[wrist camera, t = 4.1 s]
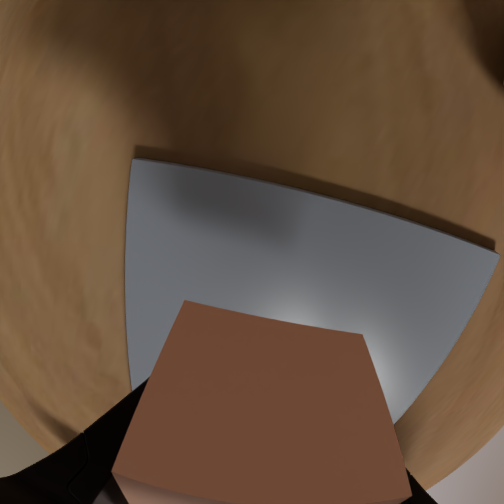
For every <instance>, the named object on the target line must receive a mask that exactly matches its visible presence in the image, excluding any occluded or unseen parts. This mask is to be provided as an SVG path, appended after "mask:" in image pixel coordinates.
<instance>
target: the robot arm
mask: <svg viewBox="0 0 504 504" xmlns="http://www.w3.org/2000/svg"><path fill="white" fill-rule="evenodd" d="M149 378H150V377H149ZM149 378H147V379H146V380H145V381H144V382H143V383H141V384H140V385H139V386H138V387H137V388H135V389H134V390H133V391H132V392H131V393H129V394H128V395H127V396H126V397H125V398H123V399H122V400H121V401H120V402H119V403H117V404H116V405H115V406H114V407H112V408H111V409H110V410H109V411H108V412H106V413H105V414H104V415H103V416H101V417H100V418H99V419H98V420H97V421H95V422H94V423H93V424H92V425H90V426H89V427H88V428H87V429H85V430H84V431H83V433H80V434H79V435H78V436H76V437H75V438H74V439H73V440H71V441H70V442H69V443H67V444H66V445H64V446H63V447H62V448H60V449H59V450H57V451H55V452H54V453H52V454H50V455H49V456H47V457H46V458H44V459H42V460H40V461H39V462H36V463H35V464H33V465H31V466H29V467H27V468H25V469H24V470H22V471H20V472H18V473H16V474H13V475H10V476H7V477H2V478H0V504H129V503H128V501H127V499H126V498H125V496H124V494H123V492H122V491H121V489H120V487H119V485H118V483H117V482H116V480H115V478H114V476H113V474H112V472H111V471H112V468H113V466H114V463H115V461H116V458H117V455H118V453H119V450H120V448H121V445H122V443H123V440H124V438H125V435H126V433H127V430H128V428H129V425H130V423H131V420H132V418H133V415H134V413H135V411H136V408H137V406H138V403H139V401H140V399H141V396H142V394H143V392H144V389H145V387H146V385H147V382H148V380H149ZM405 468H406V467H405ZM406 472H407V476H408V480H409V484H410V488H411V493H412V496H411V497H409V498H408V499H406V500H405V501H403V502H401V503H400V504H438V503H437V502H436V501H435V500H434V499H433V498H431V496H430V495H429V494H428V493H427V492H426V491H425V490H424V489H423V488H422V487H421V485H420V484H419V483H418V482H417V481H416V479H415V478H414V477H413V476H412V475H410V472H409V471H408V470H407V468H406Z"/></svg>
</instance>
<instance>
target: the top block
mask: <svg viewBox="0 0 504 504" xmlns="http://www.w3.org/2000/svg"><path fill="white" fill-rule="evenodd" d="M111 472H112V474H113V476H114V478H115V480H116V482H117V483H118V485H119V487H120V489H121V491H122V492H123V494H124V496H125V498H126V499H127V501H128V503H129V504H400V503H401V502H403V501H405V500H406V499H408V498H409V497H411V496H412V493H411V488H410V484H409V480H408V476H407V472H406V468H405V464H404V461H403V457H402V453H401V449H400V446H399V442H398V439H397V435H396V432H395V429H394V425H393V422H392V419H391V415H390V412H389V409H388V406H387V403H386V400H385V397H384V394H383V390H382V387H381V385H380V382H379V379H378V376H377V373H376V370H375V367H374V364H373V361H372V359H371V356H370V353H369V350H368V348H367V345H366V342H365V339H364V337H363V334H358V333H351V332H344V331H338V330H332V329H326V328H320V327H314V326H308V325H302V324H297V323H291V322H286V321H280V320H275V319H270V318H265V317H260V316H255V315H250V314H245V313H240V312H236V311H231V310H227V309H222V308H218V307H213V306H209V305H204V304H200V303H196V302H192V301H187V300H184V302H183V304H182V306H181V309H180V311H179V313H178V315H177V317H176V319H175V322H174V324H173V326H172V328H171V330H170V333H169V335H168V337H167V339H166V341H165V344H164V346H163V348H162V350H161V353H160V355H159V357H158V359H157V362H156V364H155V366H154V368H153V371H152V373H151V375H150V378H149V380H148V382H147V385H146V387H145V389H144V392H143V394H142V396H141V399H140V401H139V403H138V406H137V408H136V411H135V413H134V415H133V418H132V420H131V423H130V425H129V428H128V430H127V433H126V435H125V438H124V440H123V443H122V445H121V448H120V450H119V453H118V455H117V458H116V461H115V463H114V466H113V468H112V471H111Z"/></svg>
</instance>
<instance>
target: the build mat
mask: <svg viewBox="0 0 504 504" xmlns="http://www.w3.org/2000/svg"><path fill="white" fill-rule="evenodd" d="M500 256H501V255H500V254H498V253H497V252H496V251H494V250H491V249H489V248H486V247H484V246H481V245H478V244H476V243H473V242H471V241H468V240H465V239H463V238H460V237H457V236H454V235H452V234H449V233H446V232H443V231H441V230H438V229H435V228H432V227H429V226H426V225H423V224H420V223H417V222H414V221H411V220H408V219H405V218H402V217H399V216H395V215H392V214H389V213H386V212H382V211H379V210H376V209H372V208H369V207H366V206H362V205H359V204H355V203H352V202H348V201H345V200H341V199H337V198H334V197H330V196H326V195H322V194H318V193H314V192H311V191H307V190H303V189H299V188H294V187H290V186H286V185H282V184H278V183H273V182H269V181H264V180H260V179H255V178H251V177H246V176H241V175H236V174H231V173H226V172H221V171H216V170H211V169H206V168H200V167H194V166H189V165H183V164H177V163H171V162H165V161H158V160H152V159H145V158H134V159H132V165H131V174H130V184H129V195H128V208H127V223H126V247H125V305H126V328H127V344H128V357H129V368H130V377H131V386H132V391H133V390H134V389H135V388H137V387H138V386H139V385H140V384H141V383H143V382H144V381H145V380H146V379H147V378H149V377H150V375H151V373H152V371H153V368H154V366H155V364H156V362H157V359H158V357H159V355H160V353H161V350H162V348H163V346H164V344H165V341H166V339H167V337H168V335H169V333H170V330H171V328H172V326H173V324H174V322H175V319H176V317H177V315H178V313H179V311H180V309H181V306H182V304H183V302H184V300H187V301H192V302H196V303H200V304H204V305H209V306H213V307H218V308H222V309H227V310H231V311H236V312H240V313H245V314H250V315H255V316H260V317H265V318H270V319H275V320H280V321H286V322H291V323H297V324H302V325H308V326H314V327H320V328H326V329H332V330H338V331H344V332H351V333H358V334H363V337H364V339H365V342H366V345H367V348H368V350H369V353H370V356H371V359H372V361H373V364H374V367H375V370H376V373H377V376H378V379H379V382H380V385H381V387H382V390H383V394H384V397H385V400H386V403H387V406H388V409H389V412H390V415H391V419H392V422H393V425H394V424H395V423H396V422H397V421H398V419H399V418H400V417H401V416H402V415H403V414H404V412H405V411H406V410H407V409H408V408H409V407H410V405H411V404H412V403H413V402H414V400H415V399H416V398H417V397H418V395H419V394H420V393H421V392H422V390H423V389H424V388H425V386H426V385H427V384H428V382H429V381H430V380H431V378H432V377H433V376H434V374H435V373H436V371H437V370H438V369H439V367H440V366H441V364H442V363H443V361H444V360H445V358H446V357H447V355H448V354H449V352H450V351H451V349H452V348H453V346H454V345H455V343H456V341H457V340H458V338H459V336H460V335H461V333H462V331H463V330H464V328H465V326H466V325H467V323H468V321H469V319H470V318H471V316H472V314H473V312H474V310H475V308H476V307H477V305H478V303H479V301H480V299H481V297H482V295H483V293H484V291H485V289H486V287H487V285H488V283H489V281H490V278H491V276H492V274H493V272H494V270H495V267H496V265H497V263H498V260H499V258H500Z"/></svg>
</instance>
